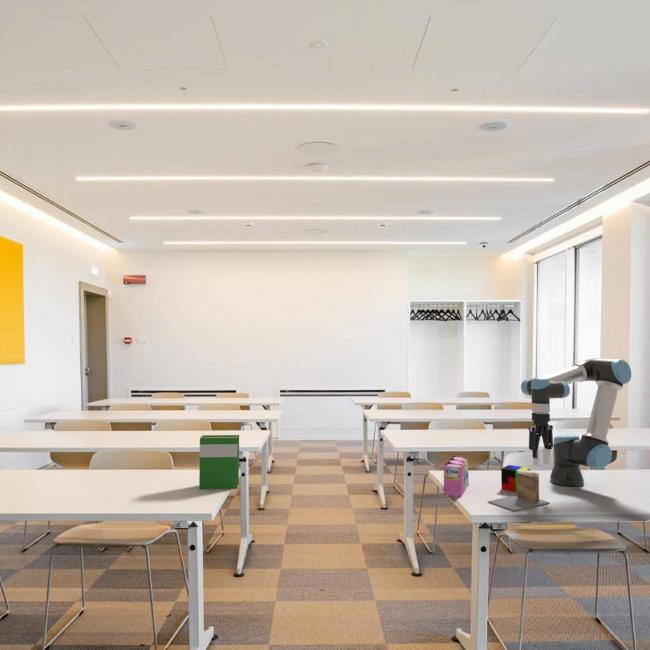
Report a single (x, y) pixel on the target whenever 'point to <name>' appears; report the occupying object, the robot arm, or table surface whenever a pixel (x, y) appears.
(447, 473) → the gum box
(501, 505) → the mat
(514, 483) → the puzzle toy
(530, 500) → the slab
